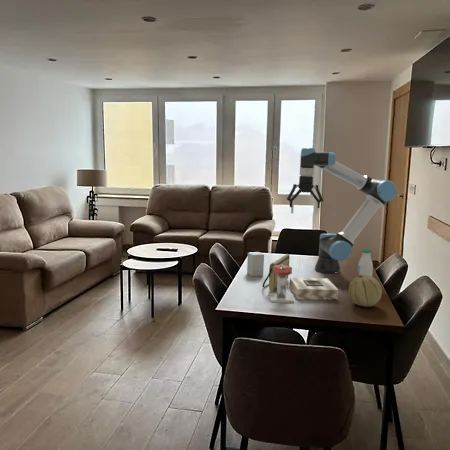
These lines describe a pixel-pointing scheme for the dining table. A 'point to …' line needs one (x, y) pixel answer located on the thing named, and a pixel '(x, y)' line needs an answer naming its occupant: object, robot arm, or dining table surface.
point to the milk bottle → (365, 263)
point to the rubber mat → (274, 298)
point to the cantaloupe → (365, 291)
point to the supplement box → (255, 264)
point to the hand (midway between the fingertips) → (304, 213)
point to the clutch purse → (273, 276)
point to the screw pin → (282, 278)
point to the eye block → (313, 288)
